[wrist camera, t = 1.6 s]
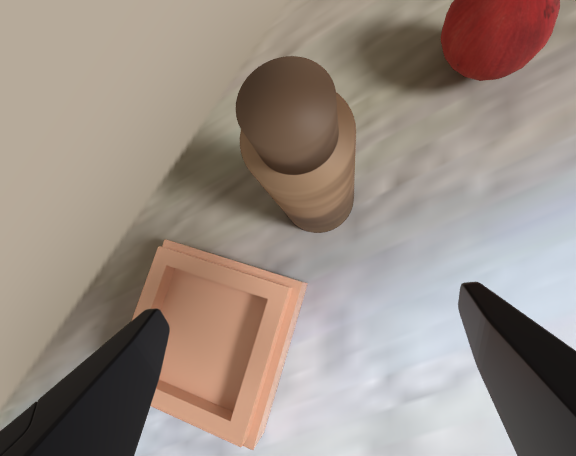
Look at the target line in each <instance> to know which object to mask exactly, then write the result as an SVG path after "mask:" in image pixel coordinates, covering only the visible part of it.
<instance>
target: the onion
mask: <svg viewBox="0 0 576 456" xmlns="http://www.w3.org/2000/svg"><path fill="white" fill-rule="evenodd" d="M559 9H560V0H454V1H453V2H452V4H451V6H450V8H449V10H448V12H447V14H446V18H445V21H444V25H443V29H442V34H441V44H442V48H443V53H444V56H445V59H446V60H447V62H448V63H449V64H450V65H451V67H452V68H453V69H454V70H455V71H457V72H459V73H460V74H462V75H463V76H465V77H468V78H472V79H475V80H479V81H483V80H494V79H499V78H502V77H505V76H507V75H509V74H511V73H513V72H515V71H517V70H519V69H521V68H523V67H524V66H525V65H526V64H527V63H528V62H529V61H530V60H531V59H532V58H533V57H534V56H535V55H536V54H537V53H538V52H539V51H540V50H541V49H542V48H543V47H544V46H545V44H546V43H547V41H548V39H549V38H550V36H551V34H552V31H553V28H554V25H555V22H556V19H557V16H558V12H559Z"/></svg>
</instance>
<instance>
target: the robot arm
mask: <svg viewBox="0 0 576 456" xmlns="http://www.w3.org/2000/svg"><path fill="white" fill-rule="evenodd" d="M458 308H459V313H460V316H461V319H462V322H463V325H464V328H465V331H466V335H467V338H468V341H469V344H470V347H471V350H472V353H473V356H474V359H475V362H476V365H477V367H478V370H479V372H480V374H481V376H482V379H483V381H484V383H485V385H486V387H487V390H488V392H489V394H490V396H491V398H492V401H493V403H494V405H495V407H496V409H497V412H498V414H499V416H500V418H501V420H502V423H503V425H504V427H505V429H506V432H507V434H508V436H509V438H510V440H511V443H512V445H513V447H514V449H515V451H516V454H517V456H576V351H575V350H574V349H572V348H571V347H570V346H568V345H567V344H565V343H564V342H563V341H561V340H560V339H558V338H557V337H556V336H554V335H553V334H551V333H550V332H549V331H547V330H546V329H544V328H543V327H541V326H540V325H539V324H537V323H536V322H534V321H533V320H532V319H530V318H529V317H527V316H526V315H525V314H523V313H522V312H520V311H519V310H518V309H516V308H515V307H513V306H512V305H510V304H509V303H508V302H506V301H505V300H503V299H502V298H501V297H499V296H498V295H496V294H495V293H494V292H492V291H491V290H489V289H488V288H486V287H485V286H484V285H482V284H481V283H479V282H467V283H462V284H461V287H460V294H459V301H458ZM169 333H170V327H169V324H168V322H167V320H166V319H165V317H164V315H163V314H162V312H161V310H159V309H157V308H154V309H146V310H144V311H143V312H142V313H141V314H139V315H138V316H137V317H136V318H135V319H133V320H132V321H131V322H130V323H129V324H128V325H126V326H125V327H124V328H123V329H122V330H120V331H119V332H118V333H117V334H116V335H114V336H113V337H112V338H111V339H110V340H109V341H107V342H106V343H105V344H104V345H103V346H101V347H100V348H99V349H98V350H97V351H95V352H94V353H93V354H92V355H91V356H90V357H88V358H87V359H86V360H85V361H84V362H82V363H81V364H80V365H79V366H78V367H76V368H75V369H74V370H73V371H72V372H71V373H69V374H68V375H67V376H66V377H65V378H63V379H62V380H61V381H60V382H59V383H57V384H56V385H55V386H54V387H53V388H52V389H50V390H49V391H48V392H47V393H46V394H44V395H43V396H42V397H41V398H40V399H39V400H38V402H35V403H34V404H32V405H31V406H30V407H29V408H28V409H27V410H25V411H24V412H23V413H22V414H21V415H19V416H18V417H17V418H16V419H15V420H13V421H12V422H11V423H10V424H8V425H7V426H6V427H5V428H4V429H2V430H1V431H0V456H134V454H135V451H136V448H137V445H138V442H139V439H140V436H141V433H142V430H143V427H144V424H145V421H146V418H147V415H148V412H149V409H150V406H151V403H152V400H153V397H154V394H155V390H156V387H157V384H158V381H159V377H160V374H161V369H162V365H163V360H164V356H165V351H166V347H167V342H168V338H169Z"/></svg>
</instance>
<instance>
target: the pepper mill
mask: <svg viewBox="0 0 576 456" xmlns="http://www.w3.org/2000/svg"><path fill="white" fill-rule="evenodd" d="M236 117H237V120H238V124H239V126H240V128H241V134H240V149H241V154H242V157H243V160H244V162H245V164H246V166H247V168H248V169H249V171H250V172H251V173H252V174H253V175H254V177H255V178H256V179H257V180H258V181H259V182H260V184H261V185H262V186H263V187H264V188H265V190H266V191H267V192H268V193H269V194H270V196H271V197H272V198H273V199H274V200H275V202H276V203H277V204H278V205H279V206H280V207H281V209H282V210H283V211H284V212H285V213H286V215H287V216H288V217H289V218H290V219H291V221H292V222H293V223H294V224H295V225H296V226H298V227H299V228H301V229H303V230H305V231H308V232H313V233H322V232H327V231H330V230H333V229H335V228H337V227H338V226H340V225H341V224H342V223H343V222H344V221H345V220H346V219H347V217H348V216H349V214H350V212H351V210H352V207H353V200H354V174H355V146H356V125H355V120H354V116H353V114H352V111H351V109H350V107H349V106H348V104H347V103H346V101H345V100H344V99H343V98H342V97H341V96H340V95H339V94H338V93H336V90H335V86H334V83H333V80H332V79H331V77H330V75H329V74H328V73H327V71H326V70H325V69H324V68H323V67H322V66H320V65H319V64H317V63H316V62H314V61H312V60H309V59H306V58H302V57H295V56H288V57H281V58H277V59H273V60H271V61H268V62H266V63H265V64H263V65H261V66H260V67H258V68H257V69H256V70H254V71H253V72H252V73H251V74H250V75H249V76H248V77H247V79H246V80H245V81H244V83H243V85H242V86H241V88H240V91H239V93H238V97H237V101H236Z"/></svg>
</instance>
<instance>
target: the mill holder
mask: <svg viewBox="0 0 576 456" xmlns="http://www.w3.org/2000/svg"><path fill="white" fill-rule="evenodd" d="M307 284H308V283H305V282H302V281H299V280H295V279H292V278H289V277H286V276H283V275H279V274H276V273H273V272H270V271H267V270H263V269H260V268H257V267H254V266H251V265H247V264H244V263H241V262H238V261H235V260H231V259H228V258H225V257H222V256H219V255H215V254H212V253H209V252H206V251H202V250H199V249H196V248H193V247H190V246H186V245H183V244H180V243H176V242H173V241H169V240H166V239H165V240H164V243H163V245H162V247H161V246H158V248H157V251H156V254H155V257H154V259H153V262H152V265H151V268H150V271H149V273H148V276H147V279H146V282H145V284H144V287H143V290H142V293H141V296H140V298H139V301H138V304H137V307H136V310H135V312H134V315H133V318H132V320H133V319H135V318H136V317H137V316H138V315H139V314H141V313H142V312H143V311H144V310H146V309H154V308H157V309H159V310H161V312H162V314H163V315H164V317H165V319H166V320H167V322H168V324H169V327H170V333H169V338H168V342H167V347H166V351H165V356H164V360H163V365H162V369H161V374H160V377H159V381H158V384H157V387H156V390H155V394H154V397H153V400H152V403H151V406H152V407H154V408H156V409H158V410H161V411H163V412H165V413H167V414H169V415H171V416H174V417H176V418H178V419H180V420H182V421H185V422H187V423H189V424H191V425H193V426H196V427H198V428H200V429H202V430H204V431H206V432H209V433H211V434H213V435H215V436H217V437H220V438H222V439H224V440H226V441H228V442H230V443H233V444H235V445H237V446H239V447H242V446H245V447H247V448H249V449H251V450H253V449H254V448H255V446H256V445H257V443H258V441H259V440H260V438H261V437H262V435H263V433H264V431H265V428H266V424H267V421H268V417H269V414H270V411H271V407H272V404H273V400H274V397H275V393H276V390H277V387H278V383H279V380H280V376H281V373H282V370H283V366H284V363H285V359H286V356H287V353H288V349H289V346H290V342H291V339H292V336H293V332H294V329H295V325H296V322H297V319H298V315H299V312H300V308H301V305H302V301H303V298H304V295H305V291H306V288H307Z"/></svg>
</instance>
